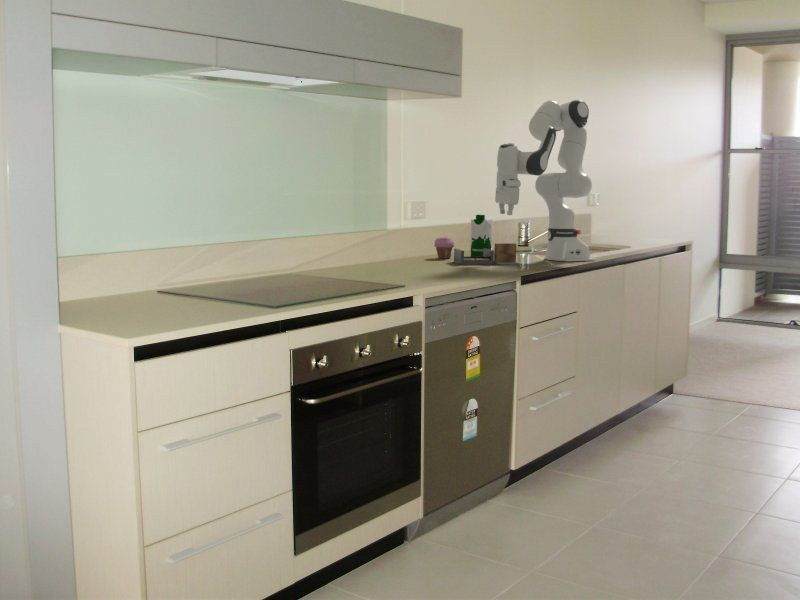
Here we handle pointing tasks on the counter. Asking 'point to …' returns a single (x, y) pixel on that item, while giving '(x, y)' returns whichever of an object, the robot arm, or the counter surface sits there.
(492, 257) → the rack
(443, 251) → the cupcake
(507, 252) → the brown flat block
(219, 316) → the counter surface
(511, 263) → the grey mat
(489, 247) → the milk carton
